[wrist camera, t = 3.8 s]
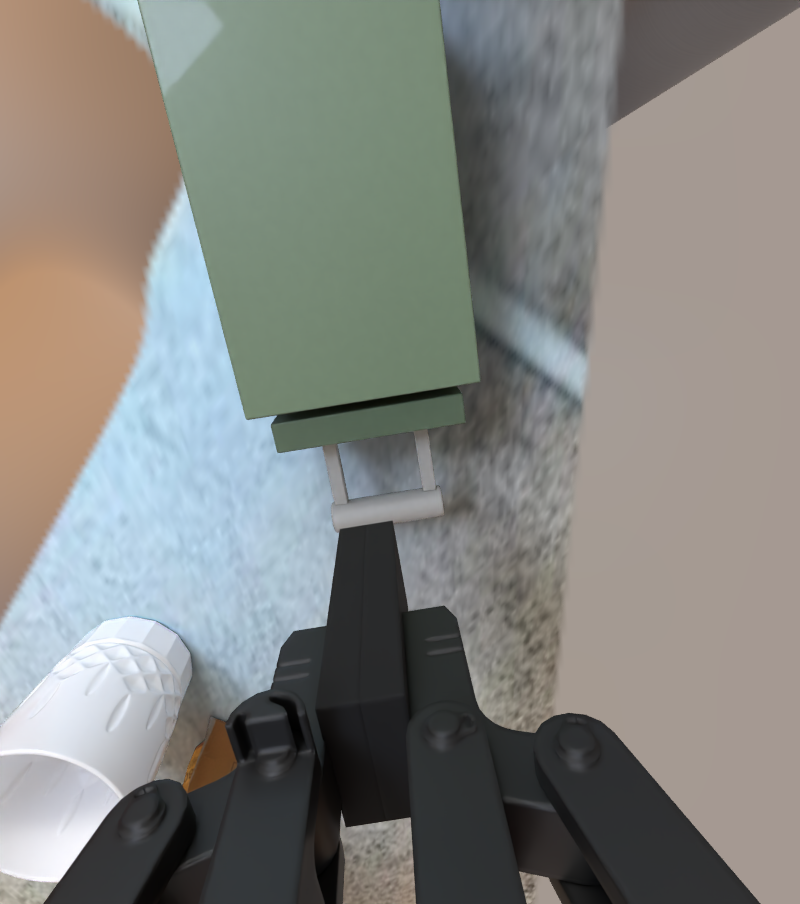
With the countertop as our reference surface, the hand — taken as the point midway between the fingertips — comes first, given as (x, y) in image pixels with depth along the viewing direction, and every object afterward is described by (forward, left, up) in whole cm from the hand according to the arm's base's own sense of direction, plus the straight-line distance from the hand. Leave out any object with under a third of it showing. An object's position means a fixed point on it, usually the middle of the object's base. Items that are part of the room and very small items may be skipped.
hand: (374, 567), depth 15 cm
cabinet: (0, -11, -14) cm, 18 cm away
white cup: (+17, +12, -14) cm, 25 cm away
